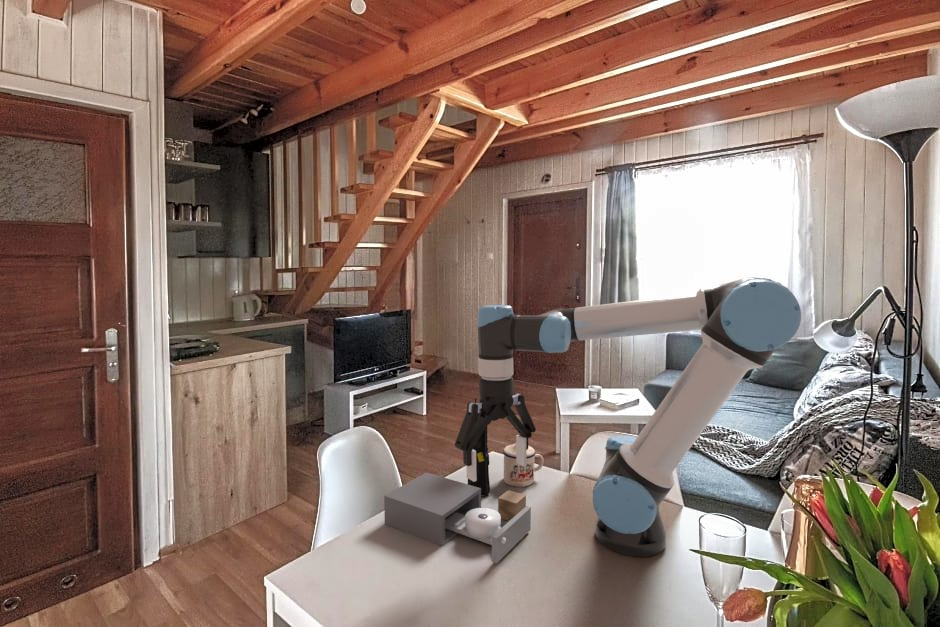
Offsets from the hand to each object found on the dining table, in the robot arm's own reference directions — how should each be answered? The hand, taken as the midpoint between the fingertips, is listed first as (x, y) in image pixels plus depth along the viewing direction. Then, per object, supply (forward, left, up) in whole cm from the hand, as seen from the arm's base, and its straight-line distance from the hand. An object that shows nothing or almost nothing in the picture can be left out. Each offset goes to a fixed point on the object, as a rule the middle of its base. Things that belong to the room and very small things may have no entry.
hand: (497, 471), depth 110 cm
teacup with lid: (+9, -32, -16) cm, 37 cm away
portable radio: (+16, -19, -16) cm, 30 cm away
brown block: (+2, -12, -16) cm, 20 cm away
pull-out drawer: (+4, 0, -16) cm, 16 cm away
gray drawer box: (+17, 0, -16) cm, 24 cm away
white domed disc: (+4, 0, -14) cm, 15 cm away
